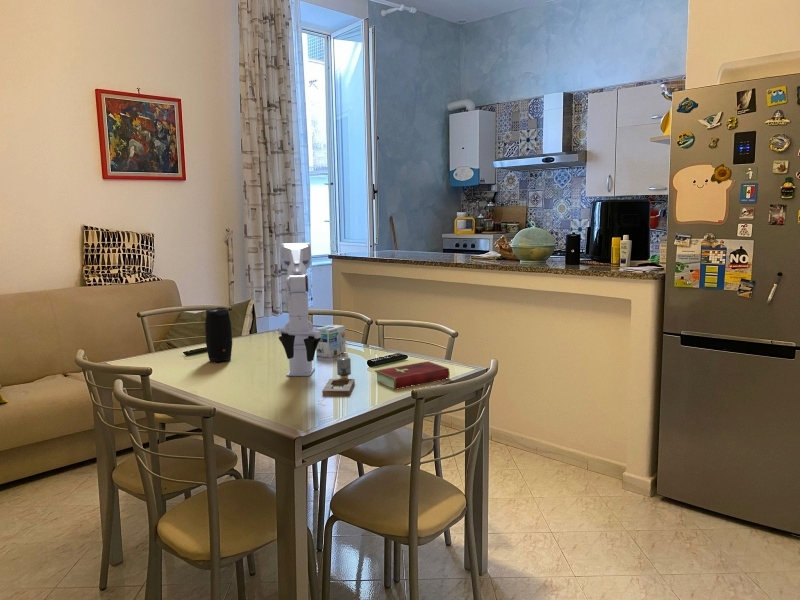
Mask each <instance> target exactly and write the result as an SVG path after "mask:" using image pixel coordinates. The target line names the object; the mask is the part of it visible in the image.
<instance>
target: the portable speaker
mask: <svg viewBox="0 0 800 600" xmlns="http://www.w3.org/2000/svg"><path fill="white" fill-rule="evenodd" d="M204 325H205V326H204V329H205V344H206V350H207V357H208V360H209V362H210V363H211V362H220V361H226V362H230V361H232V359H231V358H232V352H233V329H232V328H233V327H232V320H231V315H230V312H229V309H228V307H225V306H224V307H223V306H221V307H220V306H219V307H217V308H206V311H205V322H204ZM229 360H230V361H229Z"/></svg>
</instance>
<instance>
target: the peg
mask: <svg viewBox="0 0 800 600" xmlns="http://www.w3.org/2000/svg"><path fill="white" fill-rule="evenodd" d="M351 364H352V363H351V358H350V357H345V356H344V357H337V359H336V369H337V370H336V371H337V373H336V375H337V376H339V379H349V376H350V375H351V374H352V365H351Z"/></svg>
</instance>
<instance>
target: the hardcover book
mask: <svg viewBox="0 0 800 600" xmlns="http://www.w3.org/2000/svg"><path fill="white" fill-rule="evenodd" d="M374 372H375V373H376V381H377V382H378V381H379V382H378V383H380V382H382V383H384V384H383V385H385V384H386V385H385V386H387V385H388V386H387V387H389V386H391V387H393V388H392V389H393V390H398V389H397V388H399V389H403V388H402V387H405V388H407V387H406V386H410V387H412V386H411V385H415V386H419V385H418V384H420V385H424V384H429V383H434V381H436V382H439V381H438V380H441V381H443V380H442V379H446V378H449V379H450V368H449V367H447V366H444V365H440V364H439V363H435V362H432V361H429V360H428V361H422V362H415V363H410V364H409V363H408V364H404V365H399V366H392V367H386V368H381V369H375V370H374ZM446 380H447V379H446ZM382 383H381V384H382ZM391 387H390V388H391Z"/></svg>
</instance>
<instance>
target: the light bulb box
mask: <svg viewBox="0 0 800 600" xmlns="http://www.w3.org/2000/svg"><path fill="white" fill-rule="evenodd" d="M315 330H317V331H321V337H320V341H319V343H318V345H317V348H316V351H315V354H316V355H315V356H316V357H323V358H329V359H330V358H333V356H334V357H336V355H337V356H339V354H340V355H342V354H341V353H343V354H345V353H344V352H347V351H346V350H347V349H346V326H345V325H341V324H340V325H339V324H333V323H332V324H328V325H326V326H325V325H324V326H320V327H318V328H315Z"/></svg>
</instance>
